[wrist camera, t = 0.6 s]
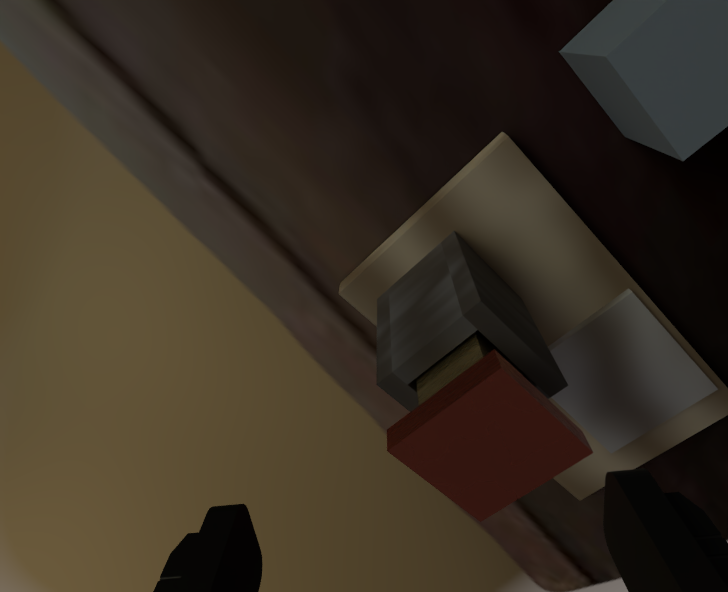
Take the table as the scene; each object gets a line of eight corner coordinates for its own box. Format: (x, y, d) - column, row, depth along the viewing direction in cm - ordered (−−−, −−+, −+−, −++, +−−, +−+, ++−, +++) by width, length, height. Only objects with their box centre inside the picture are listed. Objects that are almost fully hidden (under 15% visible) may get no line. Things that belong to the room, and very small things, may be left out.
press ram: (468, 279, 24) (501, 367, 18) (540, 349, 26) (593, 452, 20) (384, 348, 26) (387, 451, 20) (457, 409, 28) (480, 521, 21)
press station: (502, 131, 28) (560, 178, 19) (729, 391, 35) (846, 512, 27) (340, 283, 32) (325, 378, 23) (572, 485, 40) (628, 614, 31)
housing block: (645, -32, 24) (721, -50, 19) (709, 64, 26) (794, 73, 21) (559, 51, 26) (605, 56, 21) (624, 136, 28) (682, 161, 23)
